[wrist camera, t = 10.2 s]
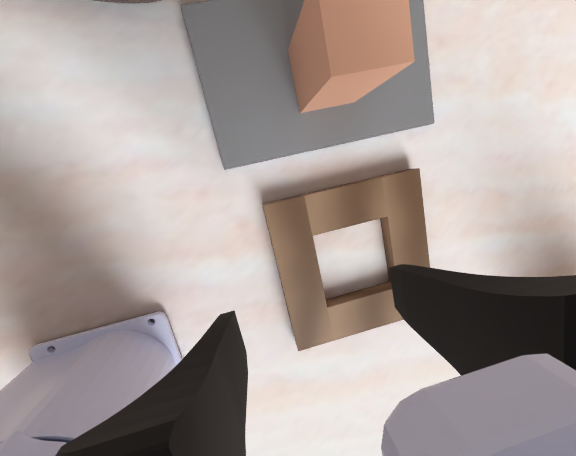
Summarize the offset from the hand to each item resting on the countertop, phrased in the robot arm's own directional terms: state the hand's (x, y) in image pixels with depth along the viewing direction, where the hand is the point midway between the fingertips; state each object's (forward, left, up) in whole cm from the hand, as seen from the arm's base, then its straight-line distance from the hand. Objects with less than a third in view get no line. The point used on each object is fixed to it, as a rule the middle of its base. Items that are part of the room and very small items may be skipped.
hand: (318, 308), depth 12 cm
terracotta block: (+5, +12, -9) cm, 15 cm away
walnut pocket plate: (+5, -2, -9) cm, 11 cm away
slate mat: (+5, +12, -9) cm, 16 cm away
